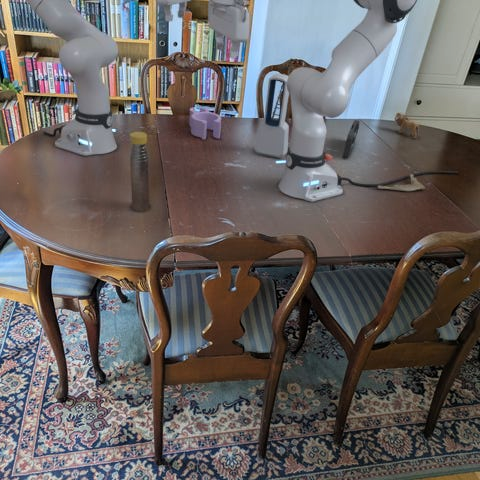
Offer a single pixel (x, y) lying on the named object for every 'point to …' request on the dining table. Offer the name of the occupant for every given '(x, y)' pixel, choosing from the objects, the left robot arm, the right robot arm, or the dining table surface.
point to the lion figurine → (406, 124)
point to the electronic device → (273, 123)
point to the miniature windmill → (280, 93)
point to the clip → (204, 123)
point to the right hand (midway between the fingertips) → (225, 53)
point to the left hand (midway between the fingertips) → (175, 19)
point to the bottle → (139, 177)
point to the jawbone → (405, 186)
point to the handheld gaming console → (351, 139)
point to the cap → (138, 138)
